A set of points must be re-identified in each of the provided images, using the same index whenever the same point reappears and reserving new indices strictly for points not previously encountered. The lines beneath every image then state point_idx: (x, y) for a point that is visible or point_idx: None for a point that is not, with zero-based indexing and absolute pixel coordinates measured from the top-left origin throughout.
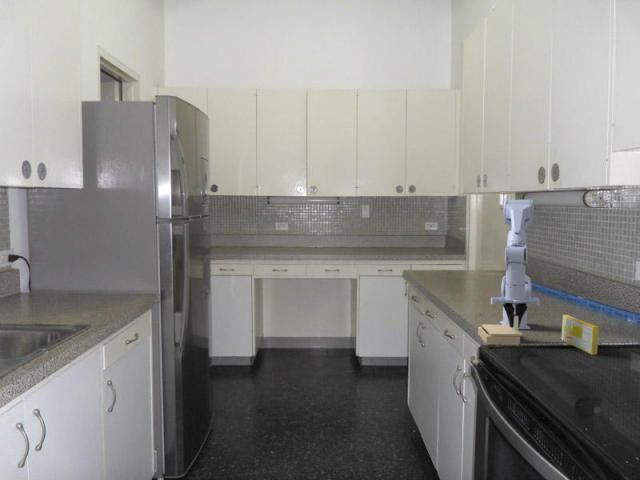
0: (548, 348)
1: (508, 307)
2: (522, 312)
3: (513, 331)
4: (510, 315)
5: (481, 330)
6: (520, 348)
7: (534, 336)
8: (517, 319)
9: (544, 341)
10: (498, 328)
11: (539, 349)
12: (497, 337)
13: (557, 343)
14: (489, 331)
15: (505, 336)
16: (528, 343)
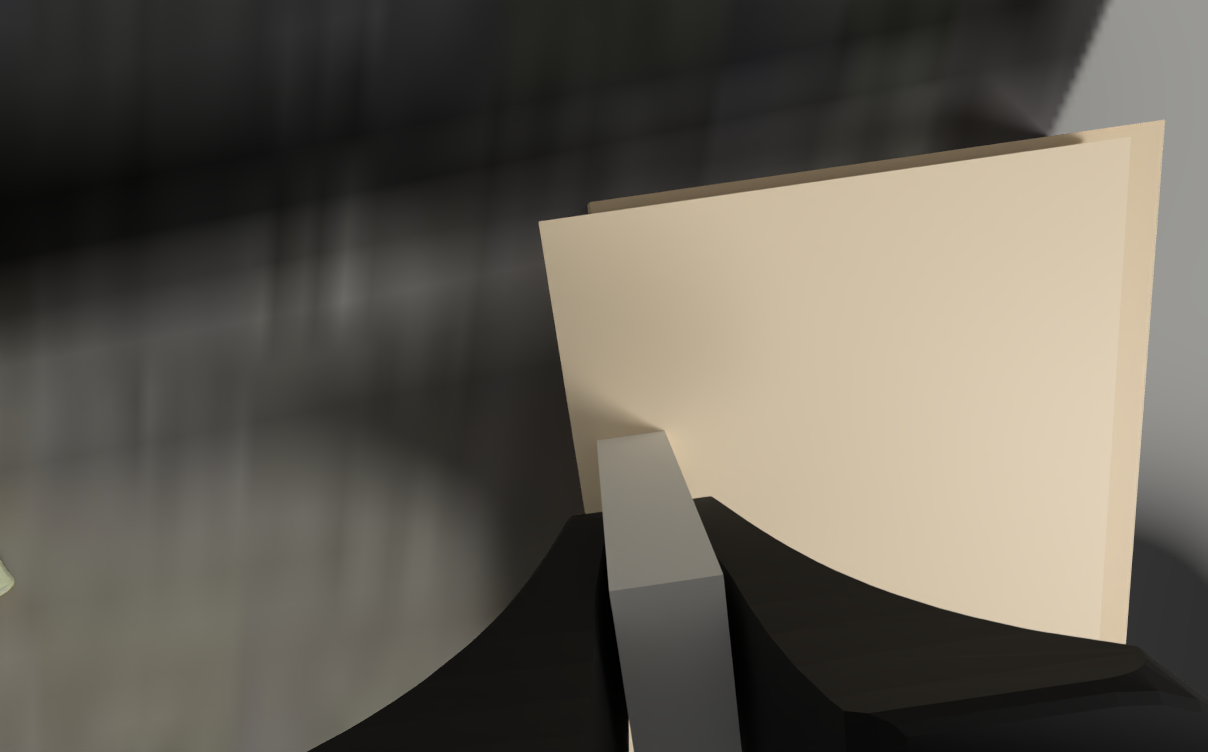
0: (194, 94)
1: (1185, 693)
2: (474, 683)
3: (683, 375)
4: (840, 588)
5: (1134, 502)
6: (603, 14)
7: (350, 673)
8: (625, 538)
9: (236, 464)
10: (900, 535)
11: (329, 8)
12: (967, 149)
13: (64, 396)
14: (1109, 299)
15: (841, 167)
16: (458, 321)
